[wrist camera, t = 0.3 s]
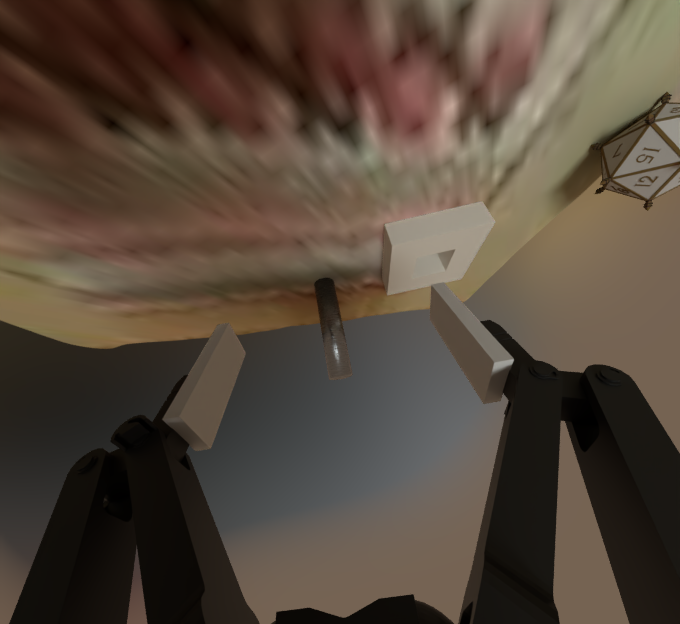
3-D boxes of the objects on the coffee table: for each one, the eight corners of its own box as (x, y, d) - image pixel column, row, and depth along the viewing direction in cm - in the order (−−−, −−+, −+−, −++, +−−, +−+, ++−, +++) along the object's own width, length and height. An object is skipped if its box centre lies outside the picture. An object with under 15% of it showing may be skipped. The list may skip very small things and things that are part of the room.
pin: (312, 280, 38) (327, 377, 31) (332, 276, 37) (351, 371, 31) (316, 290, 40) (331, 381, 34) (335, 286, 40) (353, 376, 34)
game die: (628, 92, 25) (790, 98, 19) (570, 184, 30) (684, 207, 25) (621, 85, 20) (835, 90, 15) (553, 196, 25) (690, 228, 20)
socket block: (384, 223, 30) (392, 245, 28) (482, 201, 29) (495, 222, 28) (381, 277, 40) (387, 295, 39) (453, 261, 40) (461, 279, 38)
